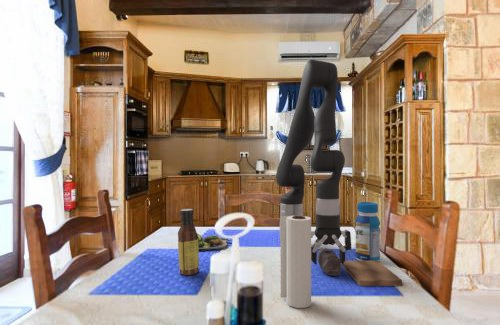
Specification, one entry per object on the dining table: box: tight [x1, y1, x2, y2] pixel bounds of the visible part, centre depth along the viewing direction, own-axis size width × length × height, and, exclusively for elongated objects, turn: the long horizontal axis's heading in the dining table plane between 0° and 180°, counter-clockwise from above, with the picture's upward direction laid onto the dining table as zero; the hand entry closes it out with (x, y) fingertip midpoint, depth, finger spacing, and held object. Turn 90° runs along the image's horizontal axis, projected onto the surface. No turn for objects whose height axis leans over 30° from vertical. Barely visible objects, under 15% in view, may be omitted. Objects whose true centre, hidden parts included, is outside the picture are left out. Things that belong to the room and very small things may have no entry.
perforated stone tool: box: [317, 247, 342, 276], centre depth 100 cm, size 15×5×7 cm, turn 2°
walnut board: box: [341, 260, 403, 287], centre depth 96 cm, size 12×17×2 cm
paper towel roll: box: [280, 215, 312, 309], centre depth 78 cm, size 7×6×21 cm
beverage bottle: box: [354, 201, 381, 262], centre depth 110 cm, size 8×8×20 cm
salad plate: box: [197, 232, 232, 251], centre depth 130 cm, size 19×18×5 cm
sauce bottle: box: [177, 208, 200, 276], centre depth 98 cm, size 6×6×20 cm
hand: (328, 263), depth 100 cm, fingers open, 8 cm apart
